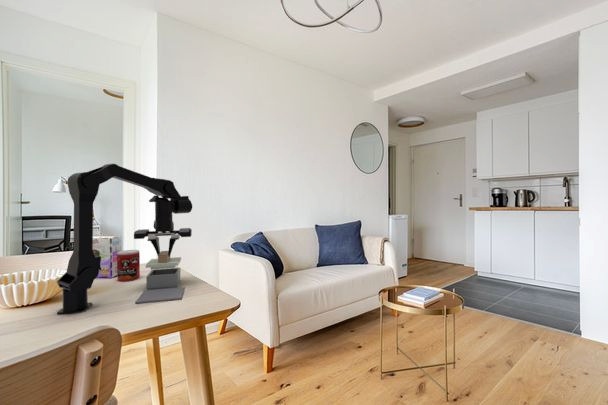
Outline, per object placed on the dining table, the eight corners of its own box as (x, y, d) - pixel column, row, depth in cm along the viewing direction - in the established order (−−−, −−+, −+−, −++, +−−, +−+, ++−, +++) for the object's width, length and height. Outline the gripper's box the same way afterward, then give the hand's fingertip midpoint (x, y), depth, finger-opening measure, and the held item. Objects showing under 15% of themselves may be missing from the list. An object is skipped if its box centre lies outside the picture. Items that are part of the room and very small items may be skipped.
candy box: (121, 274, 124) (121, 235, 124) (111, 278, 118) (110, 237, 118) (91, 274, 125) (90, 235, 125) (79, 277, 120) (79, 237, 119)
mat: (181, 299, 93) (181, 297, 93) (135, 304, 90) (135, 302, 90) (184, 288, 105) (184, 286, 105) (143, 292, 101) (143, 290, 101)
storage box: (177, 288, 106) (177, 274, 105) (146, 290, 103) (146, 276, 102) (180, 280, 115) (180, 267, 115) (152, 282, 112) (151, 269, 112)
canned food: (114, 282, 113) (113, 253, 113) (121, 277, 121) (120, 250, 120) (136, 280, 115) (136, 252, 115) (142, 275, 123) (141, 249, 122)
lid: (178, 268, 105) (178, 254, 105) (145, 270, 102) (145, 256, 102) (181, 262, 115) (181, 249, 115) (151, 264, 112) (151, 251, 112)
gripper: (192, 212, 119) (192, 251, 119) (140, 213, 113) (141, 254, 114) (190, 214, 108) (190, 256, 109) (133, 215, 103) (133, 260, 103)
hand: (164, 256), depth 109 cm, fingers closed on lid, 3 cm apart
